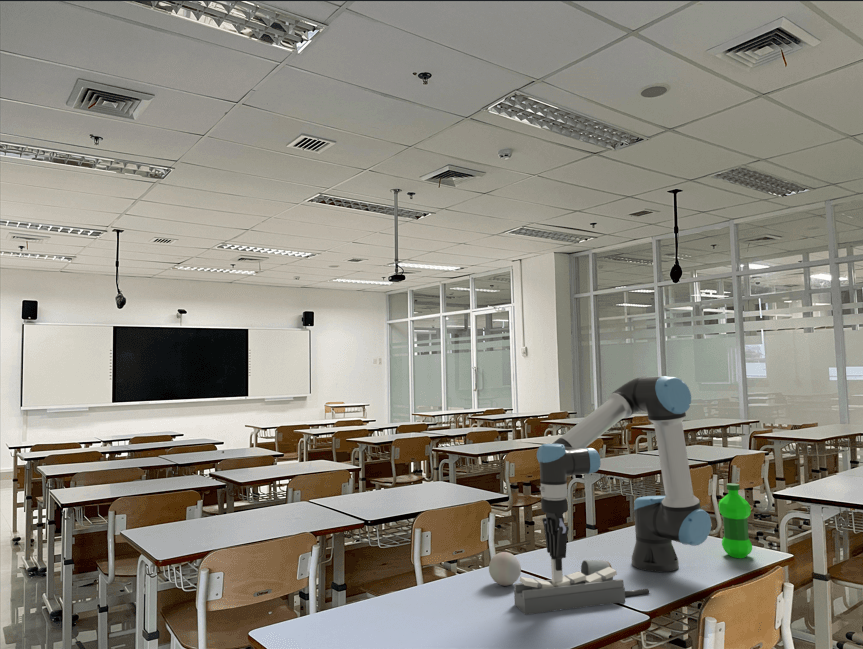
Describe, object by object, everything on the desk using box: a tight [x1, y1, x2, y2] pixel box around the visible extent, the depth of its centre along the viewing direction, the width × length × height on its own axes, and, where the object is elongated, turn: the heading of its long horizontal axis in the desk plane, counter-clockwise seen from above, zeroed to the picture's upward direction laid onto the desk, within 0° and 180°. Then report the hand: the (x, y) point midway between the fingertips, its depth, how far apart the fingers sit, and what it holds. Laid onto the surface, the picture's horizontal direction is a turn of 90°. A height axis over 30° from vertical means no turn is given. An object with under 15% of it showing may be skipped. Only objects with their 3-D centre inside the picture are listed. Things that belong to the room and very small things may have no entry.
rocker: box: [584, 566, 618, 583], centre depth 185 cm, size 9×4×1 cm, turn 104°
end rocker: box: [519, 576, 554, 588], centre depth 181 cm, size 9×4×1 cm, turn 104°
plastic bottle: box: [717, 482, 753, 559], centre depth 224 cm, size 10×10×25 cm
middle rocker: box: [552, 571, 586, 587], centre depth 183 cm, size 9×4×1 cm, turn 104°
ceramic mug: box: [580, 559, 613, 576], centre depth 200 cm, size 11×8×8 cm
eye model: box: [488, 551, 522, 587], centre depth 200 cm, size 10×10×10 cm
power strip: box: [513, 575, 650, 616], centre depth 184 cm, size 41×8×6 cm, turn 104°
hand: (557, 580), depth 182 cm, fingers closed
